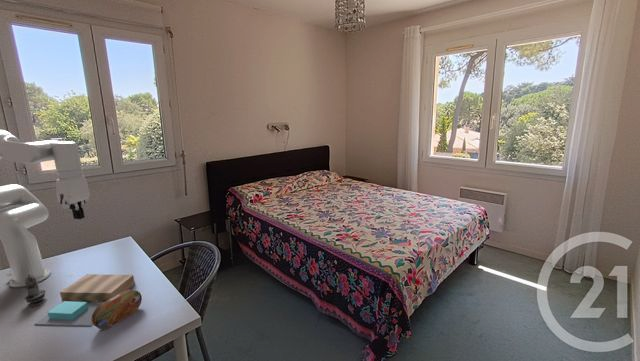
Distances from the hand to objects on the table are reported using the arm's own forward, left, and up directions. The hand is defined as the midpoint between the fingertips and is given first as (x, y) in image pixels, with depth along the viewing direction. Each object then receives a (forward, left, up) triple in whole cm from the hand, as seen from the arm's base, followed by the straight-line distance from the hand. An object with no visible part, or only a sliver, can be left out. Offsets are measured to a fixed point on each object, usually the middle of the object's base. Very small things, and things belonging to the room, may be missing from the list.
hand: (79, 218), depth 116 cm
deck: (+10, -9, -28) cm, 31 cm away
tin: (+29, -23, -28) cm, 46 cm away
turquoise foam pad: (+9, -21, -25) cm, 34 cm away
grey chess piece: (-9, -16, -28) cm, 33 cm away
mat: (+12, -21, -28) cm, 37 cm away
